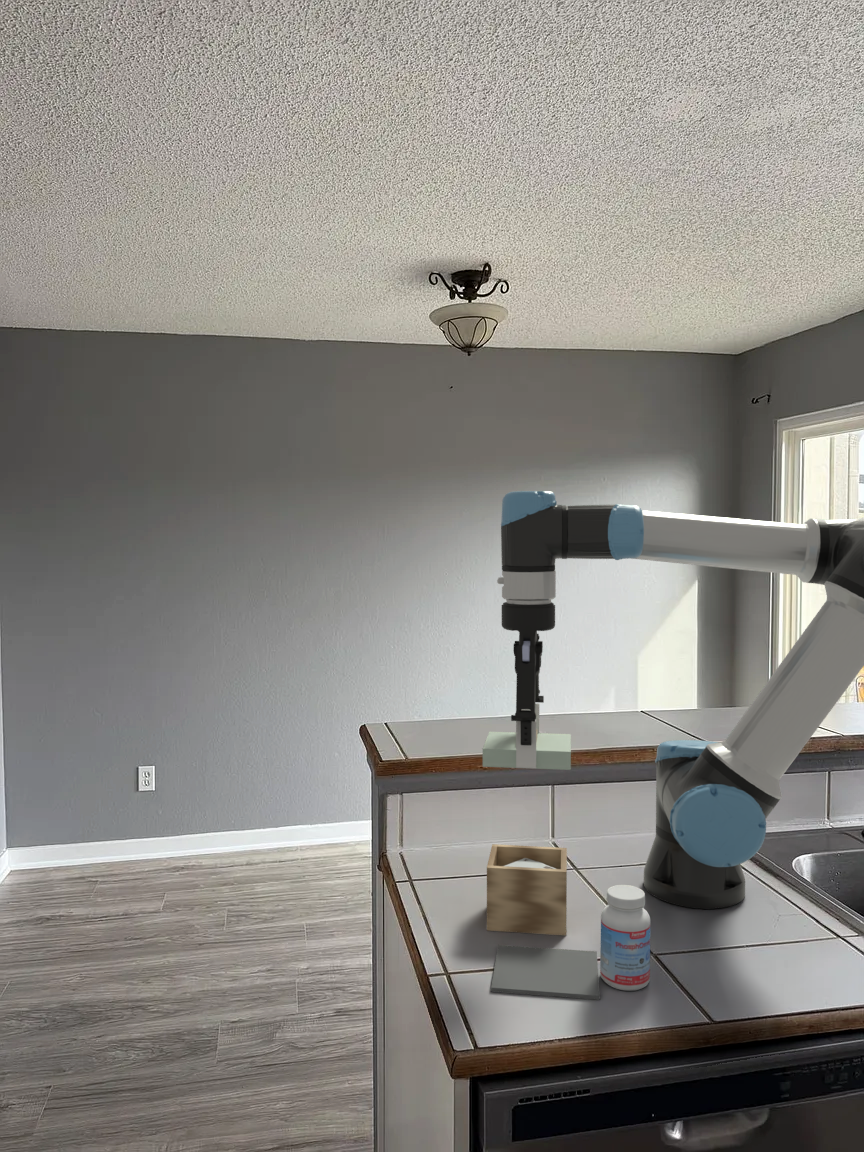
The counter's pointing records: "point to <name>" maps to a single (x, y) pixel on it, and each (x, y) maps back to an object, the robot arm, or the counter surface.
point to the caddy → (527, 890)
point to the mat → (546, 972)
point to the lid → (549, 750)
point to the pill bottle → (625, 939)
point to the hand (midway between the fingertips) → (528, 756)
